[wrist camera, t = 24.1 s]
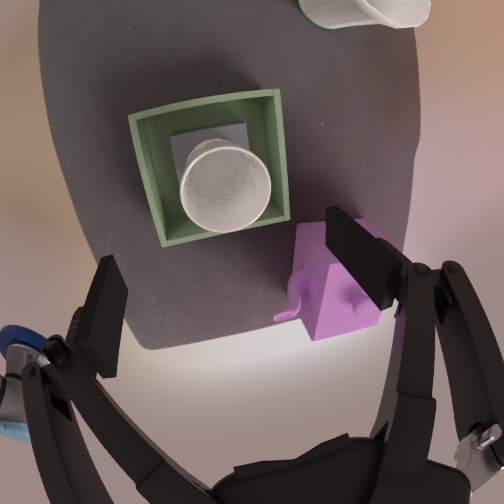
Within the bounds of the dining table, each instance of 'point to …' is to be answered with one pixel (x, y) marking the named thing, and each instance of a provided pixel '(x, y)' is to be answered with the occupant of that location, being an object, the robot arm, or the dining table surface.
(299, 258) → the teapot
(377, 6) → the cup
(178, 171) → the grey block
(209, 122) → the crate
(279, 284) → the dining table surface
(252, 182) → the white cup
